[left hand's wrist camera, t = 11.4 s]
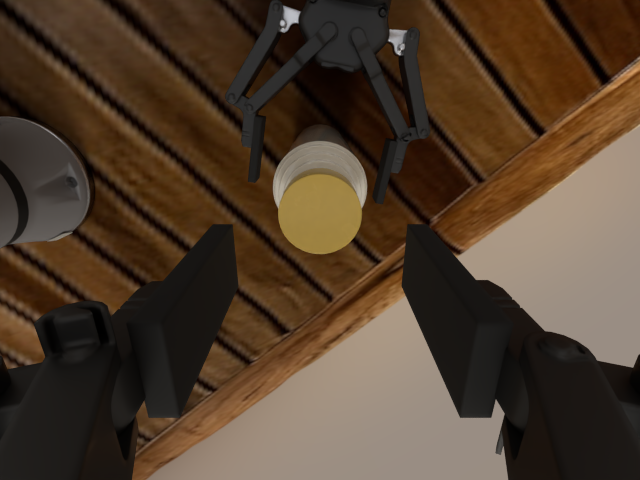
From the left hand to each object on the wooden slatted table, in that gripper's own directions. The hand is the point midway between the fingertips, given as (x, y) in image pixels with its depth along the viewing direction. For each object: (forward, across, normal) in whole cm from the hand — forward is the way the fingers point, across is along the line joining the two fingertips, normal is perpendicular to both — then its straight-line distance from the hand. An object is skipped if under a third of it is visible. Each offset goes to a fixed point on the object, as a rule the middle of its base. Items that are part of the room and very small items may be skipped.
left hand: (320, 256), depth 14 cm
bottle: (+31, 0, 0) cm, 31 cm away
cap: (+6, 0, 0) cm, 6 cm away
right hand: (+25, 0, -3) cm, 25 cm away
